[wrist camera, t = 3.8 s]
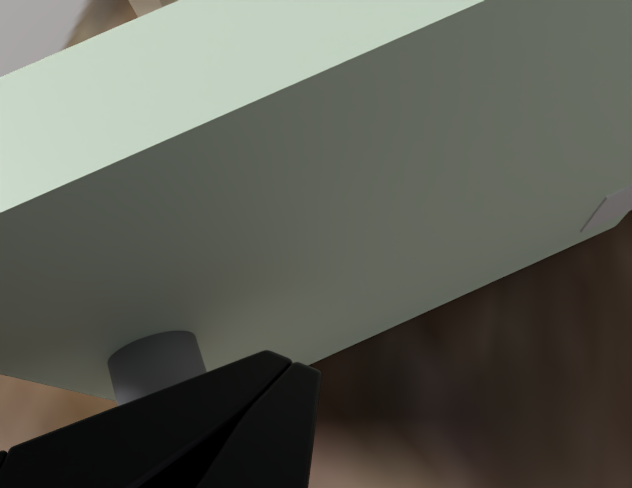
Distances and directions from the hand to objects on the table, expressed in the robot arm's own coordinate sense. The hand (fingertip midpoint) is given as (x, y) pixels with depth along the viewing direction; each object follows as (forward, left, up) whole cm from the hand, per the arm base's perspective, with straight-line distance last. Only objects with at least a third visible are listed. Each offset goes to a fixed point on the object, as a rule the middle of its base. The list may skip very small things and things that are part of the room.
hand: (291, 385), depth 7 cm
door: (+3, -1, -6) cm, 7 cm away
